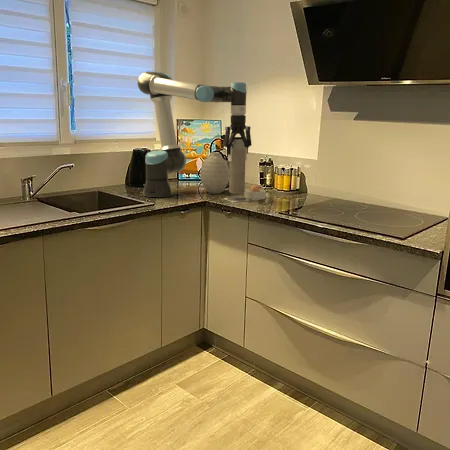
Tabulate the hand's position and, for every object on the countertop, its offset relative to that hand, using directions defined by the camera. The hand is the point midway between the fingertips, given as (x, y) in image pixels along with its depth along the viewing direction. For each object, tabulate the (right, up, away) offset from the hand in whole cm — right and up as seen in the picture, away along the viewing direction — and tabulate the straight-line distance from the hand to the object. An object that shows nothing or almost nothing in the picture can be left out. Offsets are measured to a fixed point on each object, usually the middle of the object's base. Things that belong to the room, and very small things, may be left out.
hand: (237, 160), depth 238 cm
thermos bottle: (0, -16, +4) cm, 16 cm away
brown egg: (+10, -16, +9) cm, 21 cm away
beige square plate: (0, -20, +5) cm, 20 cm away
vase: (-12, -15, +24) cm, 31 cm away
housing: (+10, -19, +10) cm, 23 cm away
